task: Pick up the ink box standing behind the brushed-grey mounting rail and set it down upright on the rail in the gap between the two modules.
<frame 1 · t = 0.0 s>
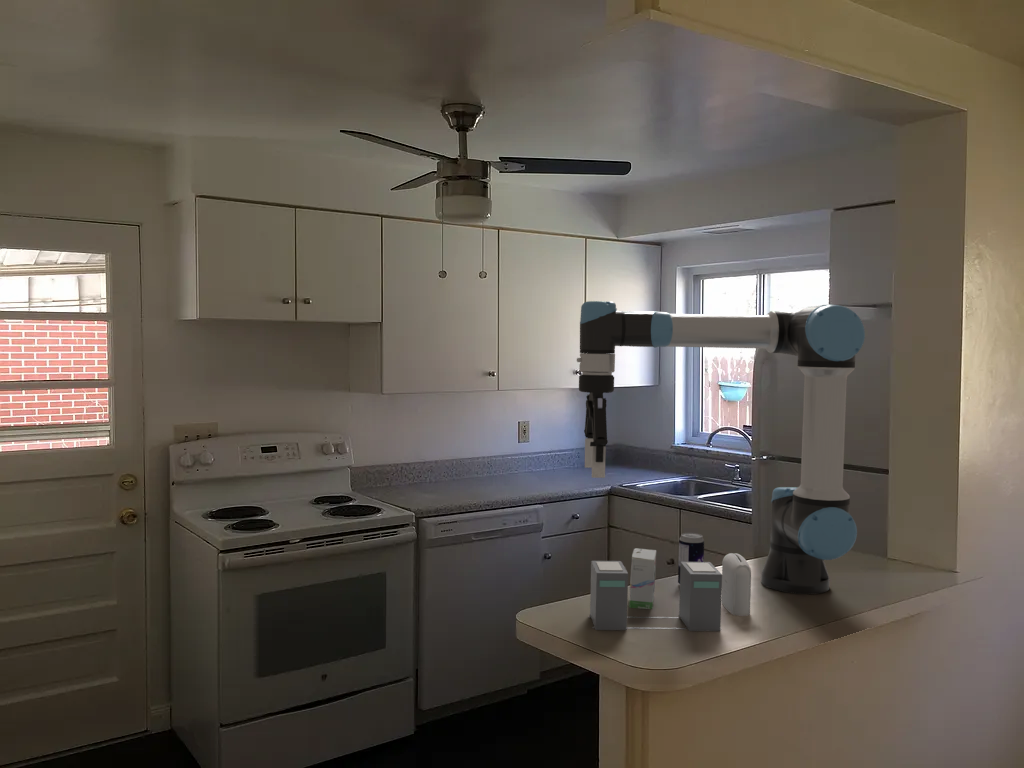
hand: (594, 472, 184), 28 cm above the counter, fingers open, 13 cm apart
module b: (607, 622, 168), resting on rail
module a: (699, 623, 168), resting on rail
rail: (653, 628, 168), on the counter
ink box: (641, 608, 181), on the counter
beverage can: (690, 587, 197), on the counter
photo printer: (735, 614, 178), on the counter
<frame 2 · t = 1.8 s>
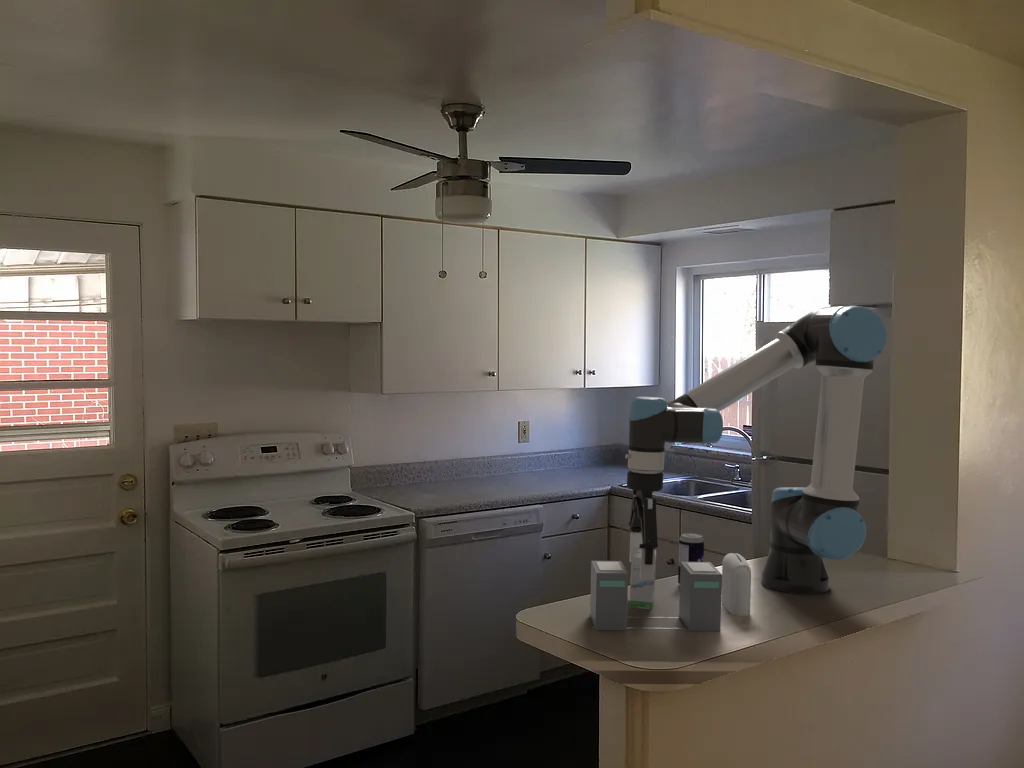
hand: (641, 570, 180), 8 cm above the counter, fingers open, 13 cm apart
nothing on the counter moved.
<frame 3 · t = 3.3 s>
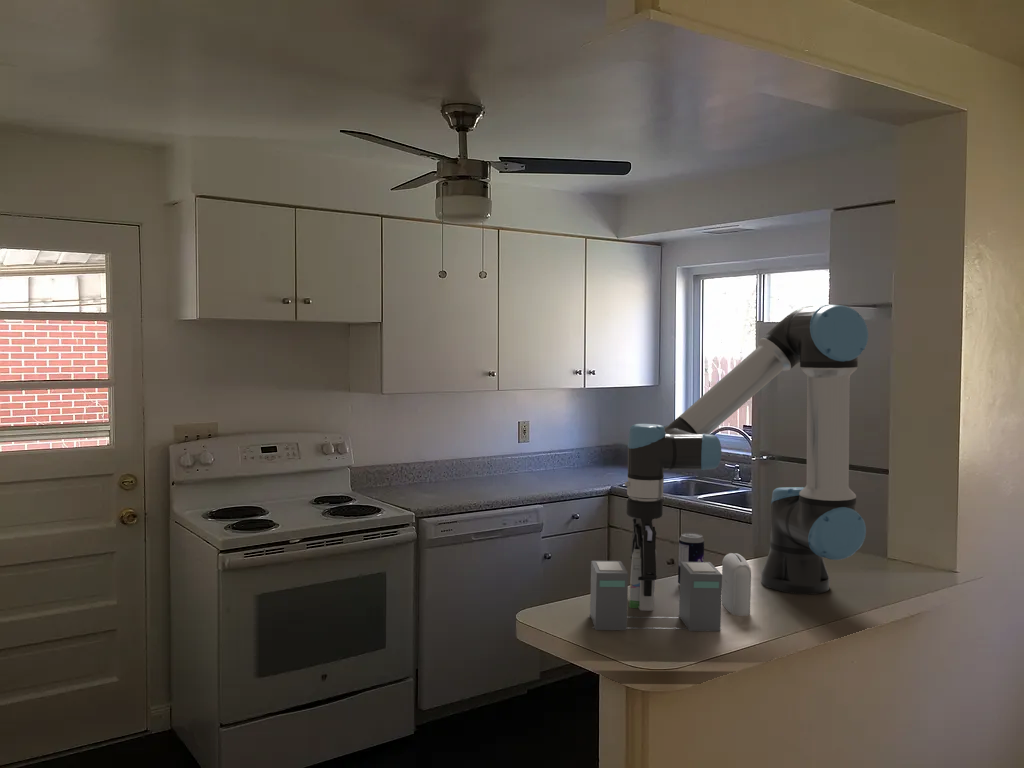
hand: (642, 602, 181), 1 cm above the counter, fingers closed on ink box, 9 cm apart
ink box: (641, 608, 181), on the counter, touching gripper
everything else where it was.
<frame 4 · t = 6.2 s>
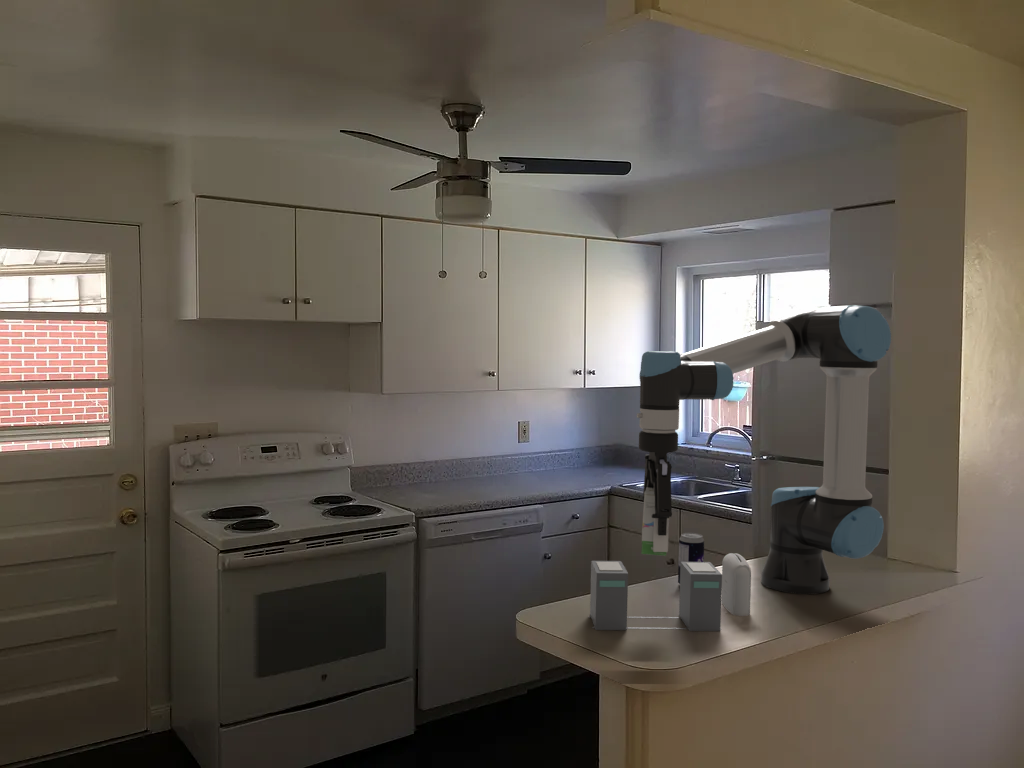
hand: (655, 545, 167), 17 cm above the counter, fingers closed on ink box, 9 cm apart
ink box: (655, 551, 167), point 15 cm above the counter, touching gripper
everything else where it was.
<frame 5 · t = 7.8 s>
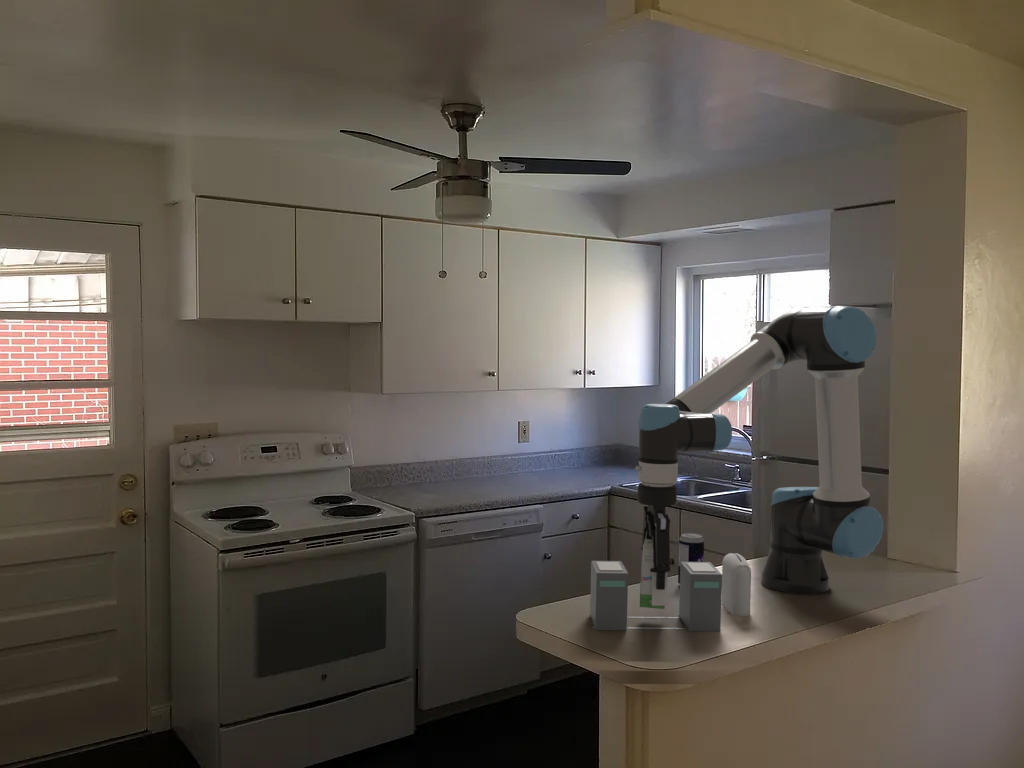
hand: (653, 597, 168), 6 cm above the counter, fingers closed on ink box, 9 cm apart
ink box: (653, 603, 168), point 5 cm above the counter, touching gripper
everything else where it was.
when the fingers open (4 cm above the counter, at t = 9.3 s): ink box drops 2 cm, resting on rail.
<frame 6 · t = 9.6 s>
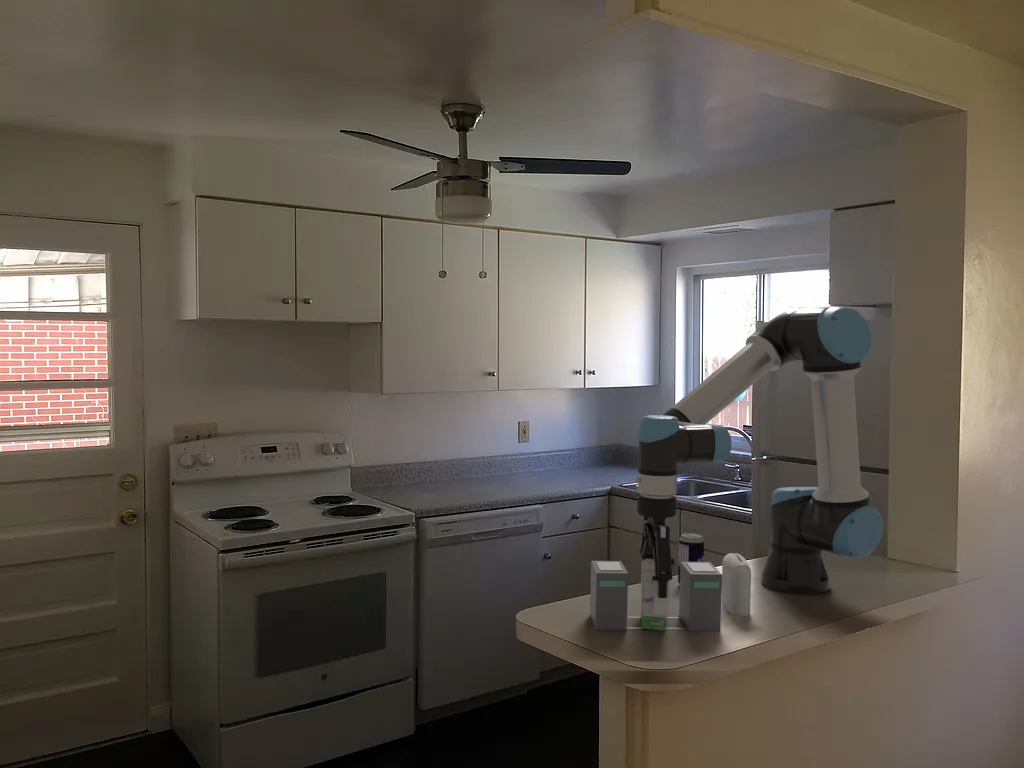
hand: (654, 602, 168), 5 cm above the counter, fingers open, 13 cm apart
ink box: (654, 624, 168), point 1 cm above the counter, touching rail
everything else where it was.
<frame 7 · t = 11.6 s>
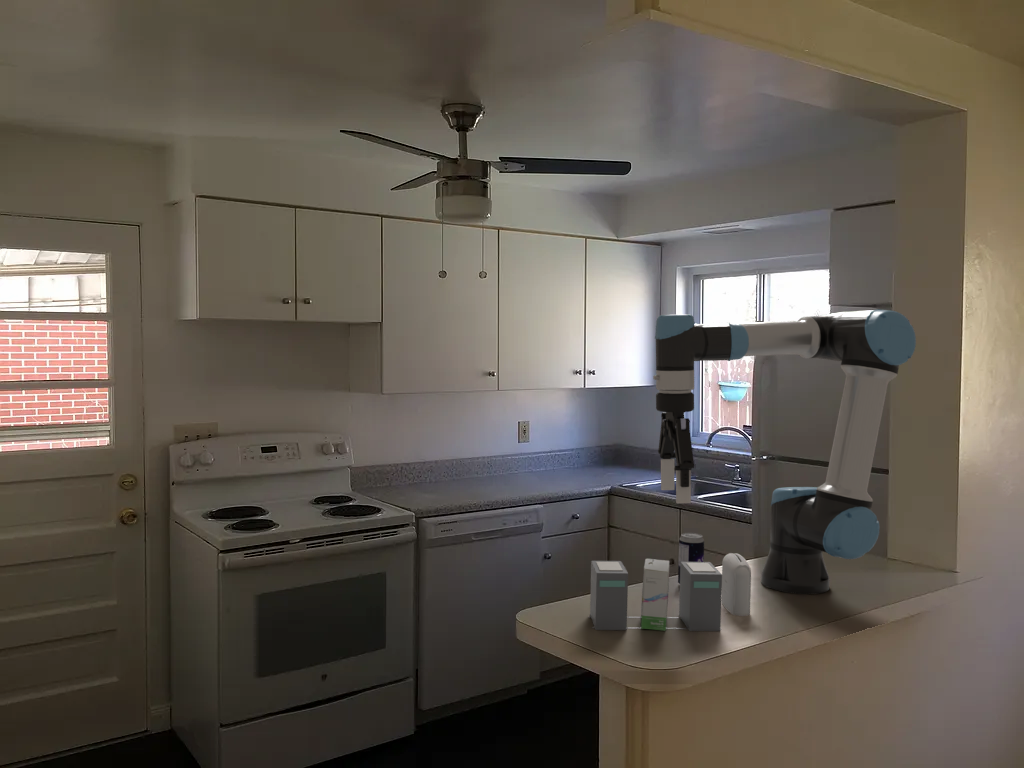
hand: (675, 496, 173), 25 cm above the counter, fingers open, 13 cm apart
nothing on the counter moved.
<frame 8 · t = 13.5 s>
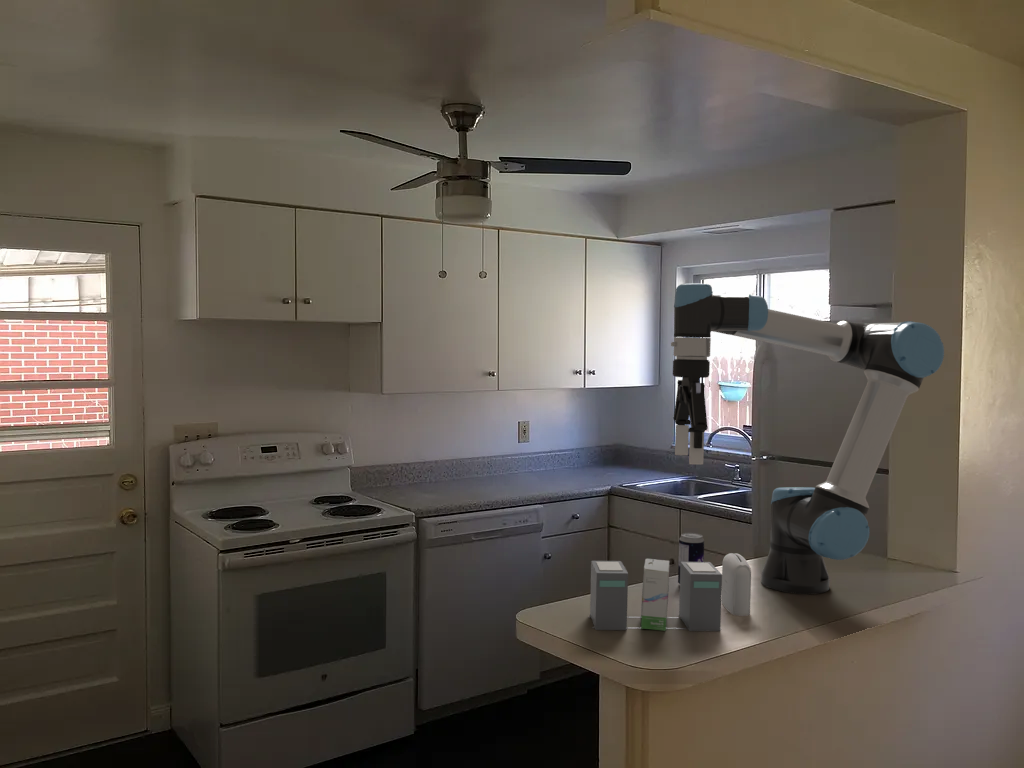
hand: (688, 459, 179), 32 cm above the counter, fingers open, 13 cm apart
nothing on the counter moved.
at the end: ink box inside the target area (0.4 cm from its centre), point 1.0 cm above the counter; ink box tilted 0°; the gripper is holding nothing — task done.
